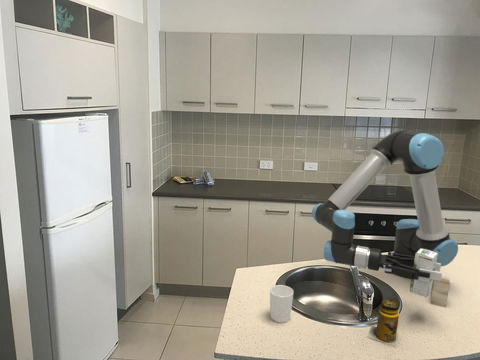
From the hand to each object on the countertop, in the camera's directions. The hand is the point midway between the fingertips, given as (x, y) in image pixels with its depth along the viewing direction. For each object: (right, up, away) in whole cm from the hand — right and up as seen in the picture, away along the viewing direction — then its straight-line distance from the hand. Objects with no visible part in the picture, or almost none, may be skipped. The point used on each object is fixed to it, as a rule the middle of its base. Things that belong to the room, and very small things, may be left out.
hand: (440, 272), depth 130 cm
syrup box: (-5, -8, +4) cm, 10 cm away
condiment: (-21, -20, -4) cm, 29 cm away
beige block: (+8, -15, +17) cm, 24 cm away
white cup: (-53, -17, +5) cm, 56 cm away
